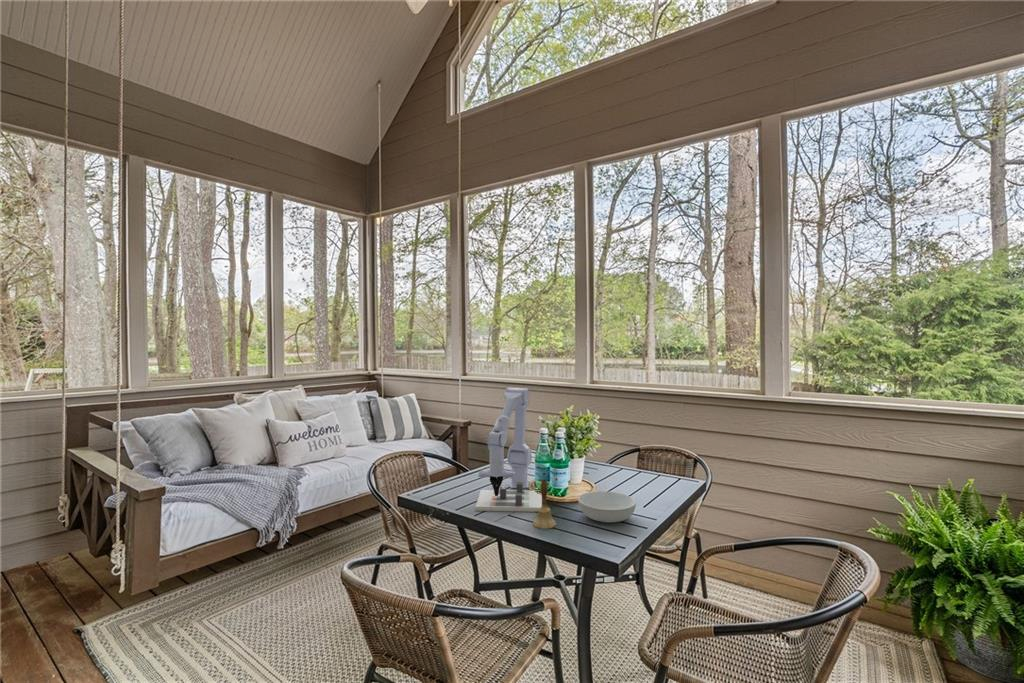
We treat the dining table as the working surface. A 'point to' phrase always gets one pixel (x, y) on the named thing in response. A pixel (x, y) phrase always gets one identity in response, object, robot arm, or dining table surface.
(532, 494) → the panel
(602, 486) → the dining table surface
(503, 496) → the breaker
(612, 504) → the serving bowl
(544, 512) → the hand bell
